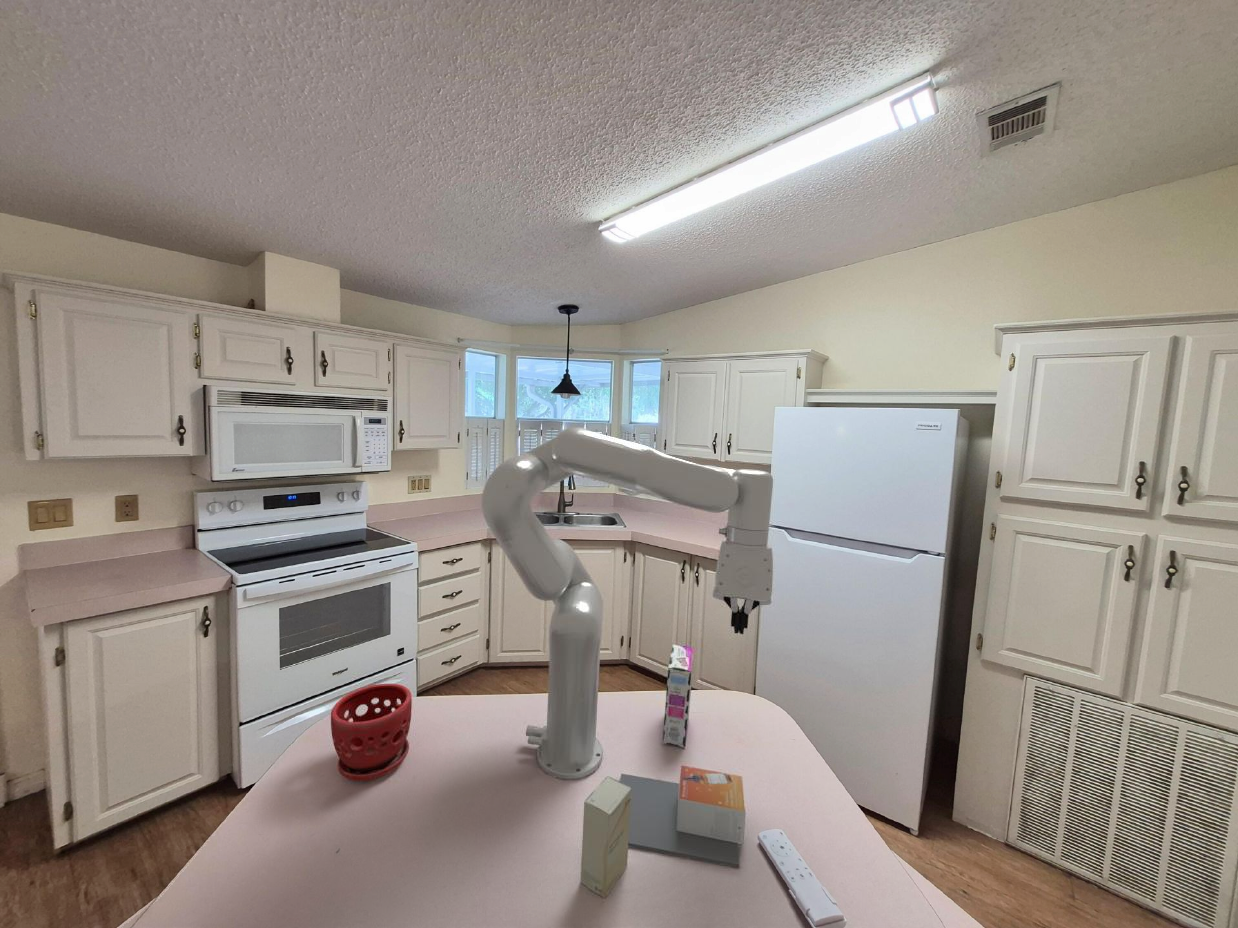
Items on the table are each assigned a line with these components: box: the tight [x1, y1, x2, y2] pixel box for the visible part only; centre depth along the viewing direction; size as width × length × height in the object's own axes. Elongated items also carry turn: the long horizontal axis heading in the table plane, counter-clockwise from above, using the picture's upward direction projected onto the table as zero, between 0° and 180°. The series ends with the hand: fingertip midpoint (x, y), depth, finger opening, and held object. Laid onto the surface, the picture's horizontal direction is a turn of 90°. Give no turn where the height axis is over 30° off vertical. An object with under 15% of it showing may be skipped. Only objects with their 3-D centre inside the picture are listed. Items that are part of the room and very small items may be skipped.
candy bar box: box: [661, 644, 695, 749], centre depth 100 cm, size 11×5×16 cm, turn 169°
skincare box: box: [580, 775, 631, 898], centre depth 67 cm, size 6×4×12 cm
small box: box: [677, 764, 746, 845], centre depth 77 cm, size 8×6×10 cm
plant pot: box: [330, 683, 413, 782], centre depth 86 cm, size 13×13×12 cm
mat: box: [619, 773, 741, 869], centre depth 78 cm, size 20×14×1 cm
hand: (738, 630), depth 89 cm, fingers closed
